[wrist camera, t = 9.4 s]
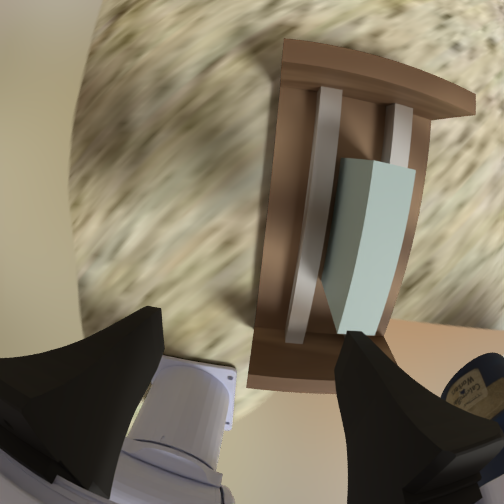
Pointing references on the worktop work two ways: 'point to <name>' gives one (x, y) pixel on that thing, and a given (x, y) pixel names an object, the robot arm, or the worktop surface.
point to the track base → (333, 195)
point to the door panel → (365, 241)
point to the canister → (481, 399)
